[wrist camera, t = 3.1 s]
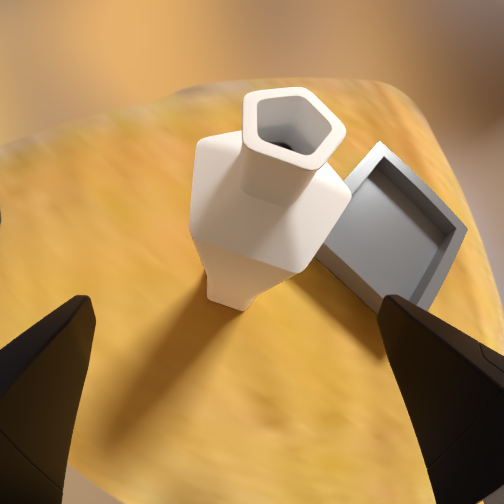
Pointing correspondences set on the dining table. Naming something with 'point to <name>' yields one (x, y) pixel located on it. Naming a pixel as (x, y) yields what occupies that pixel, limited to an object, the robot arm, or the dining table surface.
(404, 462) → the dining table surface
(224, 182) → the perfume bottle
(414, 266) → the gray tray
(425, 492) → the dining table surface
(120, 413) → the dining table surface
